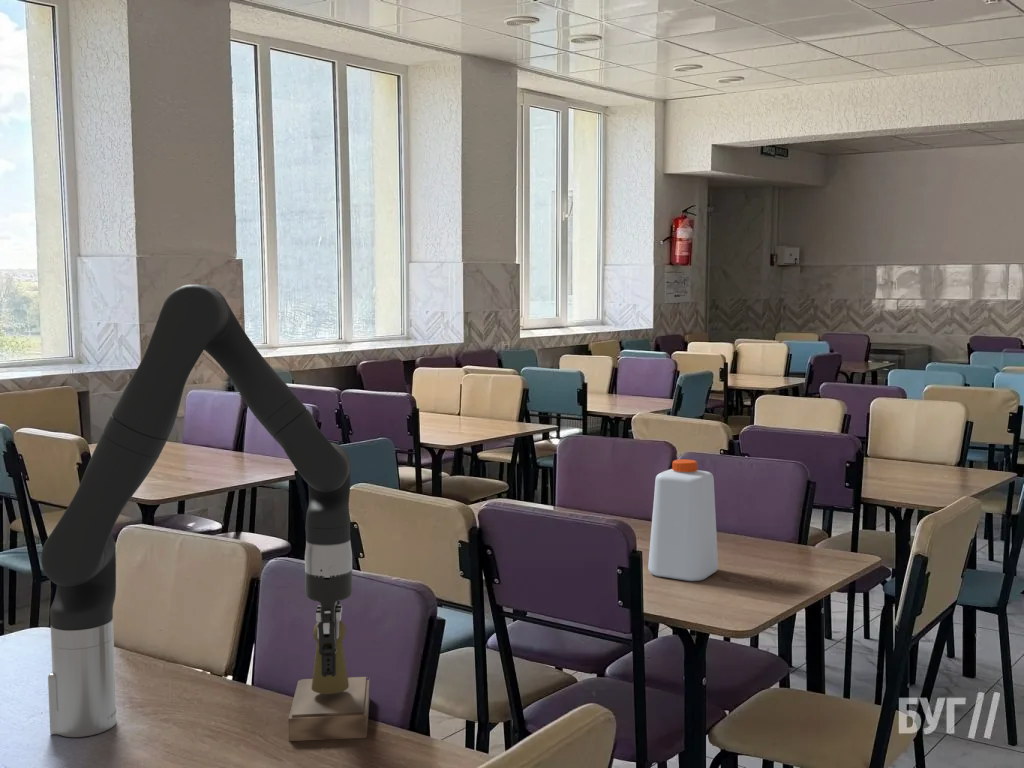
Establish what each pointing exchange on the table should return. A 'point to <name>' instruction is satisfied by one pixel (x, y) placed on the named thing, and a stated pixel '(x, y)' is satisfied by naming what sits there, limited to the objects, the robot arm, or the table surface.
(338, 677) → the cork
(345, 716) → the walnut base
